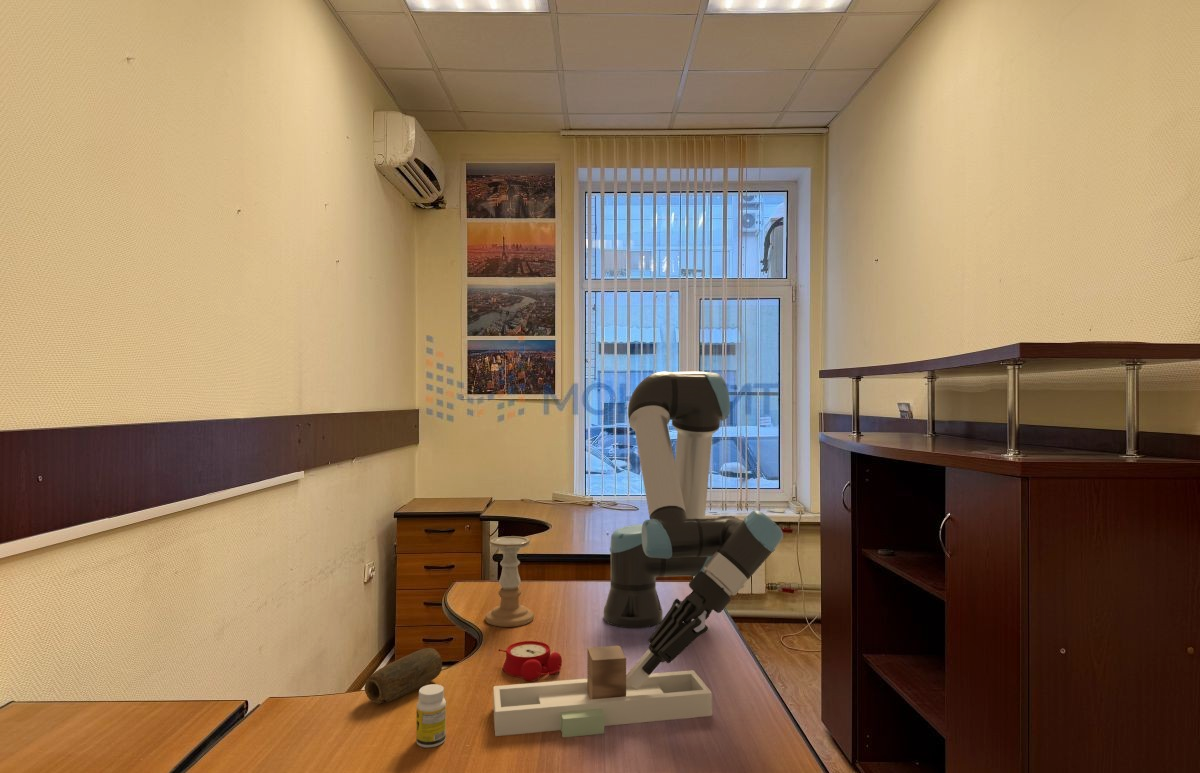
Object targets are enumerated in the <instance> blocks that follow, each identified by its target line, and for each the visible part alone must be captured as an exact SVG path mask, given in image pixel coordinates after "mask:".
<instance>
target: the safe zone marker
mask: <svg viewBox="0 0 1200 773" xmlns="http://www.w3.org/2000/svg"><path fill="white" fill-rule="evenodd" d="M578 679H579V678H577V679H573V680H578ZM585 679H587V678H585ZM565 680H566V679H563V680H562V679H561V680H560V681H565ZM553 681H554V680H552V681H551V682H553ZM560 731H561V735H562V738H571V737H572V738H573V737H582V736H592V735H602V734H605V726H604V713H603V711H602V709H591V710H579V711H568V712H561V730H560Z"/></svg>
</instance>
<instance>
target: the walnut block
mask: <svg viewBox="0 0 1200 773" xmlns="http://www.w3.org/2000/svg"><path fill="white" fill-rule="evenodd" d="M586 655H587V661H586V662H587V675H586V677H587V692H588V695H589V698H590V700H591V699H603V698H614V697H626V675H627V657H626V655H625V653H624V652H623V649H622V647H621V645H610V646H607V645H606V646H593V647H592V646H591V647H590V646H589V647H587V654H586Z"/></svg>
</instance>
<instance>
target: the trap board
mask: <svg viewBox="0 0 1200 773" xmlns="http://www.w3.org/2000/svg"><path fill="white" fill-rule="evenodd" d="M577 679H578V680H574V679H564V680H565V681H561V680H552V681H553V682H552V681H543V682H542V681H541V682H529V683H517V684H506V685H494V686H493V699H492V700H493V702H492V703H493V708H492V709H493V723H494V724H493V726H494V736H495V737H501V736H512V735H523V734H533V733H542V732H543V733H544V732H555V731H561V712H568V711H579V710H591V709H602V711H603V713H604V727H608V726H618V725H627V724H630V725H631V724H638V723H641V724H642V723H651V722H661V721H672V720H682V719H692V718H704V717H712V716H713V692H712V691H711V690H710V688H708V686H707V685H706V684H705V682H704V681H703V680H702V678H700V677H699V675H698V674H697V673H696V671H695V670H694V669H693V670H681V671H680V670H679V671H669V672H667V671H666V672H652V673H651V674H650V676H649V677H648V678H647V679H646V680H645V681H644V683H643V684H642V685H641V686H640V687H639V688H638V690H636V689H635V688H634V687H633V686H632V685H631V684H630V683H629V682H628V681H627V680H626V697H614V698H603V699H591V700H590V698H589V695H588V692H587V679H586V678H577Z"/></svg>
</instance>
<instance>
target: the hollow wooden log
mask: <svg viewBox="0 0 1200 773" xmlns="http://www.w3.org/2000/svg"><path fill="white" fill-rule="evenodd" d="M442 668H443V660H442V657H441V654H440V653H439V652H438V650H436V649H435V648H433V647H425V648H422V649H419V650H416V651H414V652H412V653H409V654H407V655H405V656H402V657H401V658H399V659H396V660H394V661H392V662H391V663H388V664H387V665H384V666H383V667H381V668H379V669H378V670H376V671H375V672H373V673H372V674H371V675H370V676H369V677H368V678H367V679H366V681H365V684H364V693H365V694H366V697H367V698H368V699H369V700H370V701H371V702H373V703H376V704H379V705H380V704H382V703H386V704H387V703H389V702H393V701H394V700H397V699H399V698H402V697H404V696H406V695H408V694H410V693H412V692H413V691H415V690H419V689H420V688H422V687H423V686H426V685H428V684H429V683H430V682H432V681H433V680H434V679H436V678H438V676H439V675H441V672H442Z"/></svg>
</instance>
